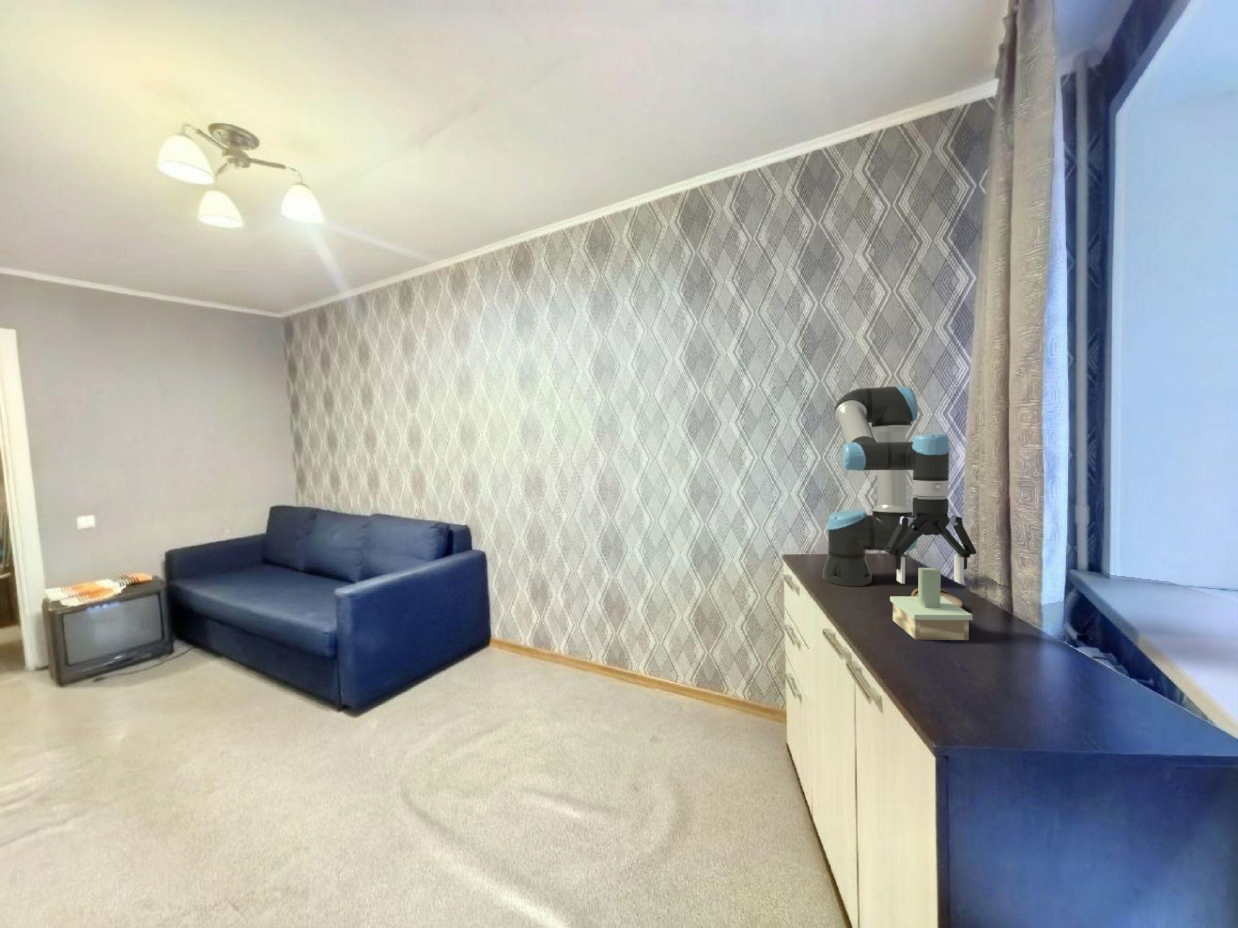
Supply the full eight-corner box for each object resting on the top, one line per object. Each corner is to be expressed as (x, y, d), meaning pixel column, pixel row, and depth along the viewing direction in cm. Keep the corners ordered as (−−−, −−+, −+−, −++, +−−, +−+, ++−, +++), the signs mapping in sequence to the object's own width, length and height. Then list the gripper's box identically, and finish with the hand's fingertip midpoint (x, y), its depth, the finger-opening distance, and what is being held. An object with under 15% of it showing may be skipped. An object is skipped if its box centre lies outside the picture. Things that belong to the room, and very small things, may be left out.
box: (892, 623, 131) (892, 601, 131) (940, 624, 130) (941, 601, 130) (915, 643, 119) (915, 618, 119) (968, 643, 118) (968, 619, 118)
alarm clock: (923, 607, 135) (905, 581, 149) (922, 623, 136) (904, 596, 150) (970, 609, 132) (947, 582, 146) (968, 626, 133) (945, 598, 148)
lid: (890, 600, 132) (890, 562, 131) (942, 600, 130) (942, 562, 130) (914, 619, 119) (914, 577, 118) (972, 619, 117) (973, 577, 117)
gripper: (883, 499, 120) (883, 586, 121) (994, 498, 117) (993, 586, 119) (871, 495, 127) (870, 577, 129) (975, 494, 125) (973, 577, 126)
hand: (929, 582), depth 124 cm, fingers open, 13 cm apart
